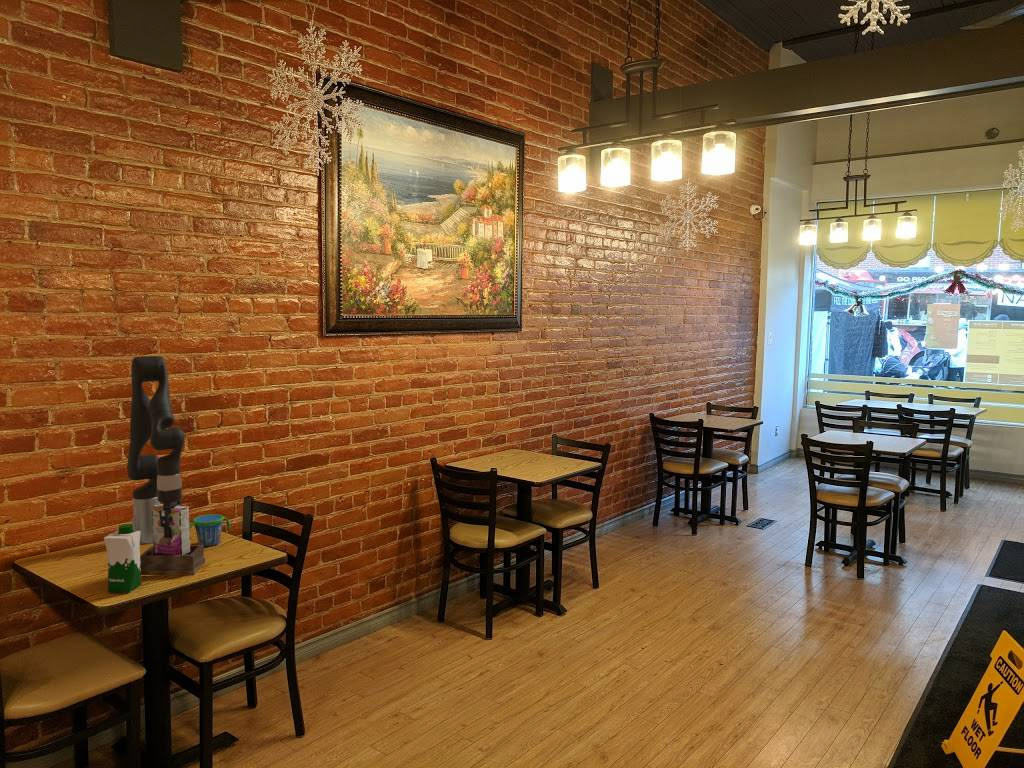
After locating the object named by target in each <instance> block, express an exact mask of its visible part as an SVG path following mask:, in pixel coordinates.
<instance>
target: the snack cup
mask: <svg viewBox="0 0 1024 768" xmlns="http://www.w3.org/2000/svg"><path fill="white" fill-rule="evenodd" d="M224 520H226V531H227V532H228V533H229V532H230V530H231V523H230V521H229V519H228V518H227V517H225V516H223V515H222V514H213V513H211V514H209V513H208V514H203V515H198V516H196V517H195V518H193V520H192V522H189V525H190V529H192V527H193V526H194V529H195V531H196V532H195V533H196V538H197V543H198V545H204V547H205V546H206V547H211V546H210V545H213V546H216V545H219V543H220V542H221V536H222V527H223V523H224ZM191 539H192V538H191V537H190V541H191ZM215 544H216V545H215Z"/></svg>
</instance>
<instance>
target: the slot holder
mask: <svg viewBox="0 0 1024 768" xmlns="http://www.w3.org/2000/svg"><path fill="white" fill-rule="evenodd" d="M204 548H205V546H204V545H199V544H190V552H189V553H187V554H186V555H163V554H154V545H151V546H150V547H149V548H148V549H146V551H144V552H143V553H141V554H140V567H141V575H165V576H186V575H187V576H193V575H196V573H197V572H198V571H199V570H200V569H201V568H202V567H203V566H204V565H205V563H206V558H205V550H204Z"/></svg>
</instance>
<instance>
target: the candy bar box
mask: <svg viewBox="0 0 1024 768" xmlns="http://www.w3.org/2000/svg"><path fill="white" fill-rule="evenodd" d="M174 507H175V508H172V509H171V513H170V515H169V518H170V517H171V516H172V517H173V519H172V521H171V531H172V537H171V538H164V527H161V525H160V515H159V511H160V510H162V508H163V503H160V505H158V506H156V507H153V508H152V518H153V543H152V544H153V546H154V554H163V555H186V554H187V553H189V552H190V545H191V540H190V538H191V532H190V531H191V528H190V507H189V506H186V505H181V506H174Z"/></svg>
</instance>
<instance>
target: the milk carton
mask: <svg viewBox="0 0 1024 768" xmlns="http://www.w3.org/2000/svg"><path fill="white" fill-rule="evenodd" d="M140 532H141V531H134V530H133V525H132V523H131V524H130V523H125V524H121V525H118V530H116V531H114V532H112V533H110V534H108V535H106V536H104V537H103V540H104V545H105V548H106V560H107V593H108V592H114V593H113V594H131V591H132V592H133V591H134V590H136V589H138V588H139V587H140V586H142V576H141V567H140V556H141V551H140V550H141V547H140V546H141V545H140ZM138 586H139V587H138ZM137 587H138V588H137Z"/></svg>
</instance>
